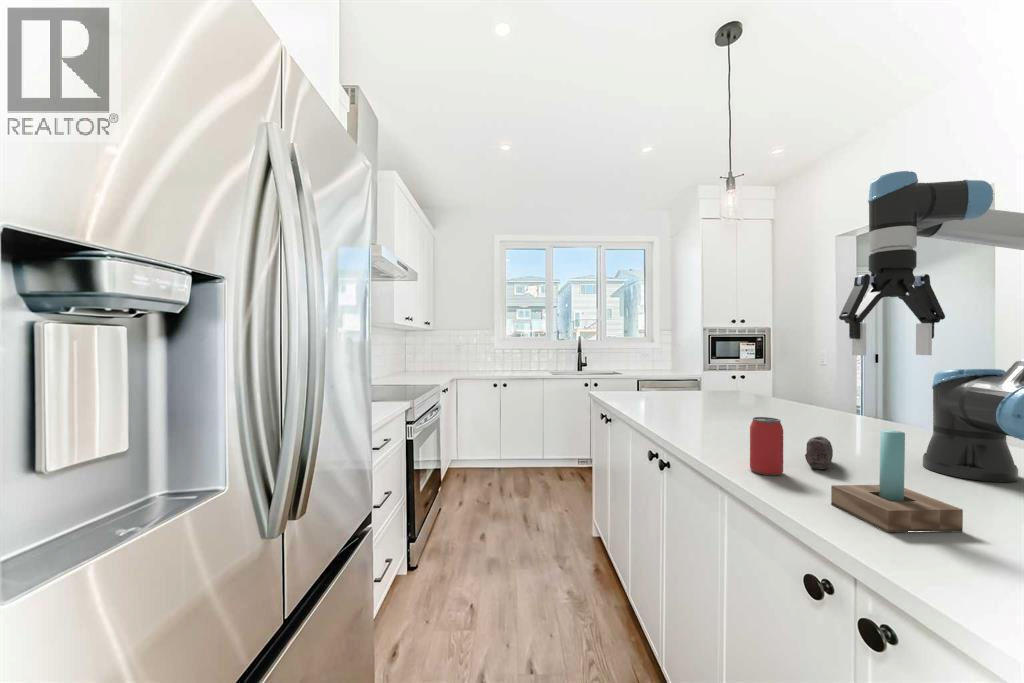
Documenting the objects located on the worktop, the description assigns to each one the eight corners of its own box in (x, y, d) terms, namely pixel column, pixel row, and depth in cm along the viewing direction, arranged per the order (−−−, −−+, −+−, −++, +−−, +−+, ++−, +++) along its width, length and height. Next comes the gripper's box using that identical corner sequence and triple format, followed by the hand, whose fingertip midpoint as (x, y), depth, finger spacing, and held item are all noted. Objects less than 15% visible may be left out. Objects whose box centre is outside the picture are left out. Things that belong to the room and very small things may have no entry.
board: (895, 503, 83) (895, 484, 83) (962, 531, 71) (962, 509, 71) (831, 504, 83) (831, 485, 83) (888, 533, 71) (888, 510, 71)
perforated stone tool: (810, 457, 116) (810, 429, 116) (835, 460, 112) (836, 432, 112) (802, 470, 104) (802, 440, 104) (830, 474, 101) (830, 443, 101)
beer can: (788, 477, 99) (788, 422, 99) (755, 475, 100) (755, 421, 100) (776, 468, 105) (776, 417, 105) (746, 467, 106) (746, 416, 106)
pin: (892, 510, 78) (893, 429, 78) (909, 517, 75) (910, 433, 75) (874, 510, 78) (875, 429, 78) (890, 518, 75) (891, 433, 75)
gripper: (933, 254, 97) (932, 354, 97) (819, 254, 96) (818, 354, 96) (970, 248, 89) (969, 355, 90) (846, 247, 89) (846, 356, 89)
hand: (891, 355), depth 93 cm, fingers open, 13 cm apart
